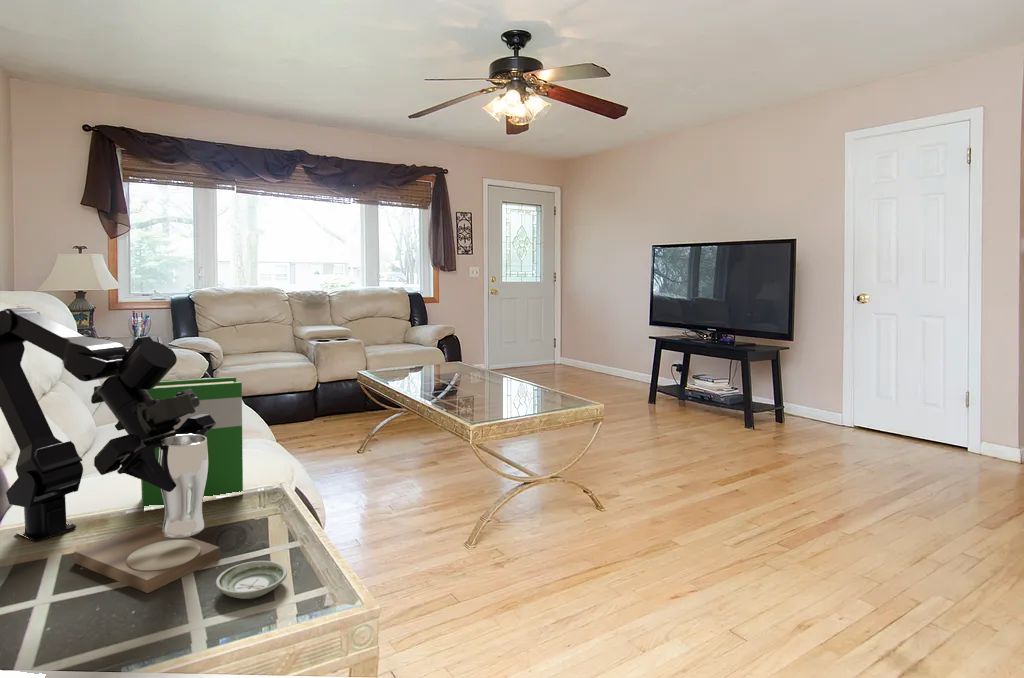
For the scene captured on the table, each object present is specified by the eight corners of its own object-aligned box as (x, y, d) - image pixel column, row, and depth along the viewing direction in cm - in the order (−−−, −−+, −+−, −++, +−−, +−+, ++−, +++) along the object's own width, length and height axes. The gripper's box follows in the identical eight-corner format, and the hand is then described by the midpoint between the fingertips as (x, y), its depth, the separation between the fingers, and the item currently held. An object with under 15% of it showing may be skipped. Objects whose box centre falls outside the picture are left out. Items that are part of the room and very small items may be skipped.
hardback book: (236, 484, 129) (235, 376, 126) (242, 495, 123) (241, 382, 120) (141, 499, 119) (138, 382, 117) (143, 511, 113) (139, 389, 111)
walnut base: (74, 563, 93) (74, 549, 93) (149, 534, 104) (149, 522, 104) (147, 593, 85) (147, 578, 85) (220, 558, 96) (219, 545, 96)
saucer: (292, 573, 93) (292, 558, 93) (279, 607, 84) (279, 590, 83) (227, 575, 91) (227, 560, 91) (206, 610, 82) (205, 594, 82)
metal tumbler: (175, 543, 90) (175, 448, 89) (148, 531, 93) (148, 440, 92) (217, 528, 96) (218, 438, 95) (190, 517, 100) (191, 431, 98)
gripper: (107, 385, 84) (170, 471, 83) (207, 367, 102) (260, 437, 100) (66, 432, 87) (126, 516, 85) (170, 406, 105) (222, 475, 103)
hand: (190, 482), depth 94 cm, fingers closed on metal tumbler, 7 cm apart
